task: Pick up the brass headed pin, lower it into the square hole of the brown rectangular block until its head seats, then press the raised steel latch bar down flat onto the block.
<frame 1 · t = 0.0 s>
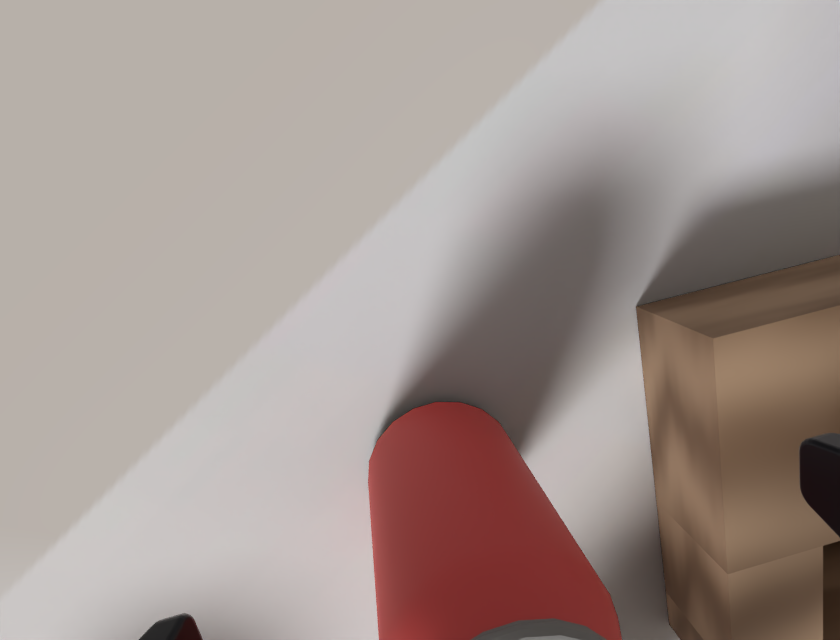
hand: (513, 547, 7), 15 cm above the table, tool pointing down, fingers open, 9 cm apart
beer can: (439, 460, 24), on the table
brown rectangular block: (785, 443, 26), on the table
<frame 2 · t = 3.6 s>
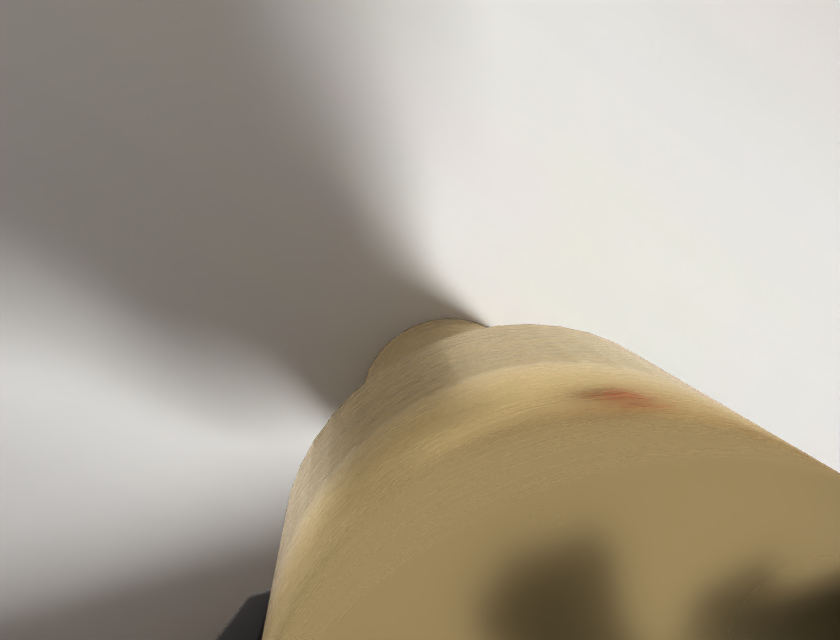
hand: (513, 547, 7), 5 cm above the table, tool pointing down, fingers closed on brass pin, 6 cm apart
brass pin: (446, 399, 12), on the table, touching gripper
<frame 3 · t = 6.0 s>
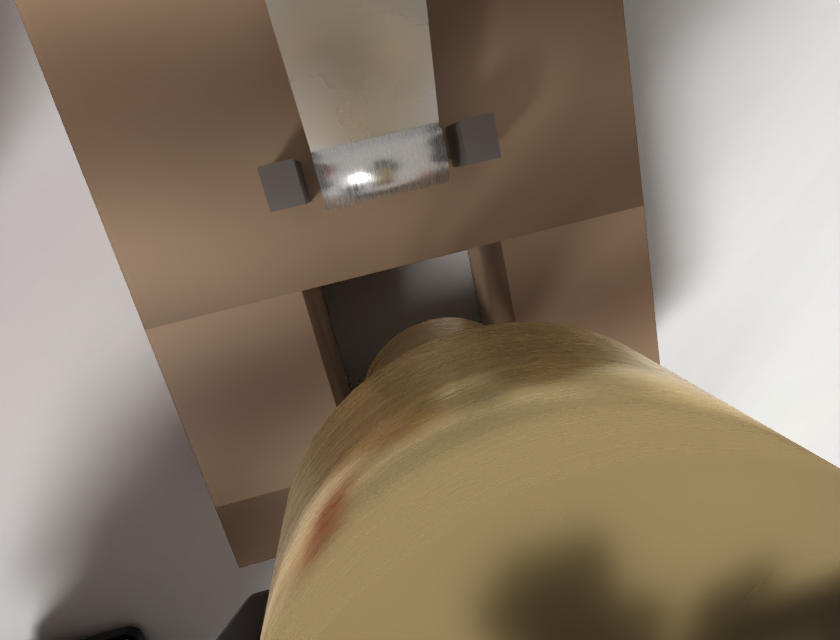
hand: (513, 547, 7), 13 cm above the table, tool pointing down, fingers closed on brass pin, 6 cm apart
latch bar: (349, 13, 10), point 8 cm above the table, hinge at 30.0°
brass pin: (445, 398, 12), point 8 cm above the table, touching gripper
brown rectangular block: (381, 212, 19), on the table
when the fingers open (6 cm above the table, at t = 8.8 s): brass pin stays where it is, resting on brown rectangular block.
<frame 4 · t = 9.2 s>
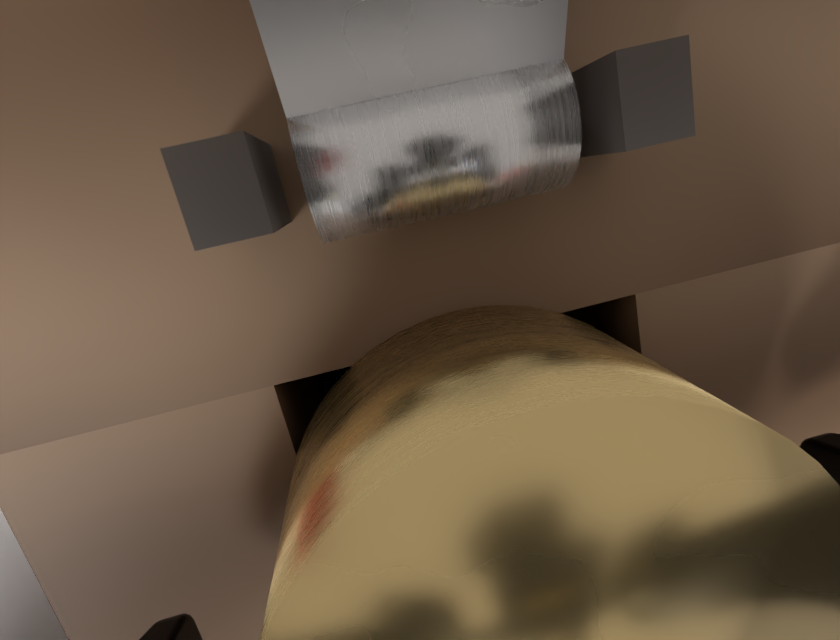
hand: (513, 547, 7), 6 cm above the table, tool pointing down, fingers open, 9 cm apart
brass pin: (439, 383, 13), resting on brown rectangular block
brown rectangular block: (405, 231, 12), on the table
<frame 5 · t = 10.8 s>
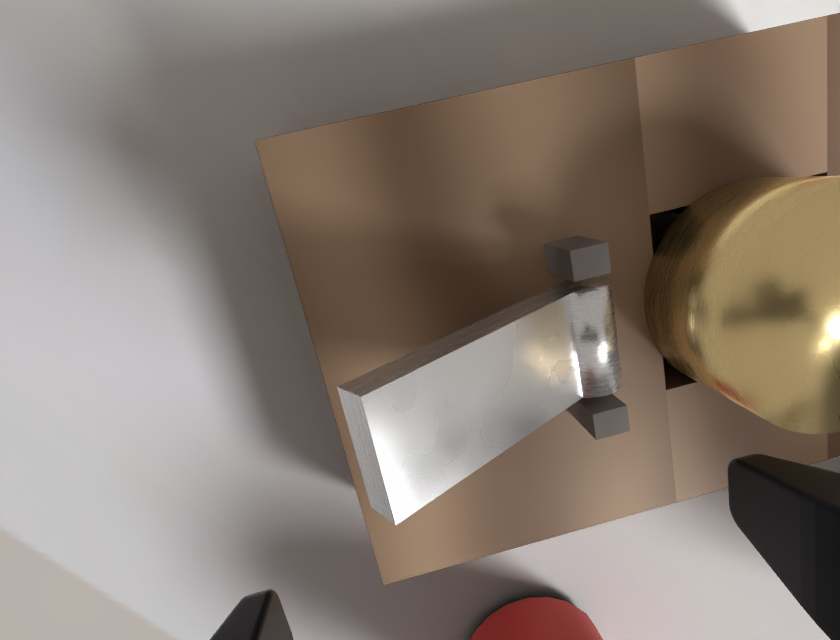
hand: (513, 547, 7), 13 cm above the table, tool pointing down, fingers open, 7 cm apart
latch bar: (508, 382, 13), point 8 cm above the table, hinge at 30.0°
brass pin: (651, 263, 21), resting on brown rectangular block
brown rectangular block: (556, 285, 20), on the table
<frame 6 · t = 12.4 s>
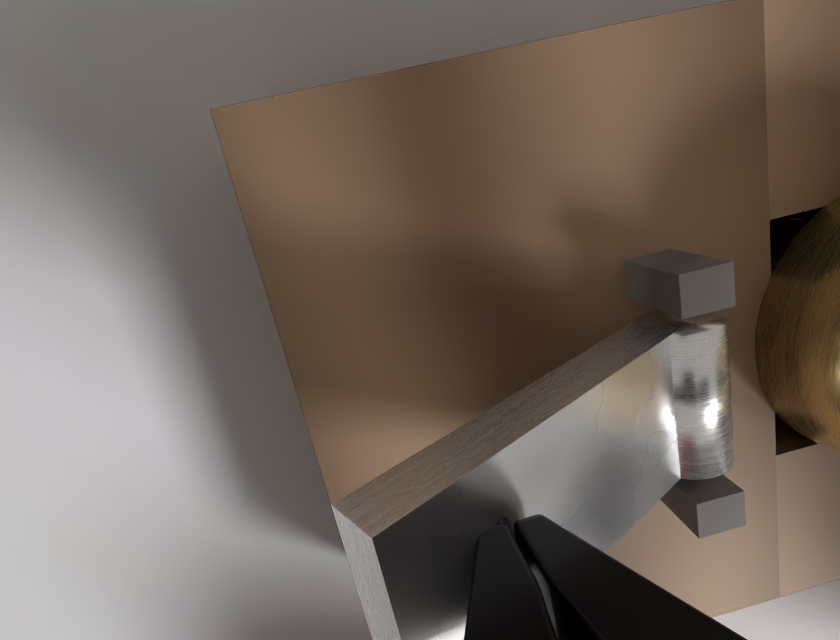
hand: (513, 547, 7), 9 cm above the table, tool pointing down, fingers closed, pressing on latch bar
latch bar: (587, 471, 9), point 8 cm above the table, hinge at 30.0°, touching gripper
brass pin: (728, 278, 16), resting on brown rectangular block
brown rectangular block: (611, 307, 16), on the table
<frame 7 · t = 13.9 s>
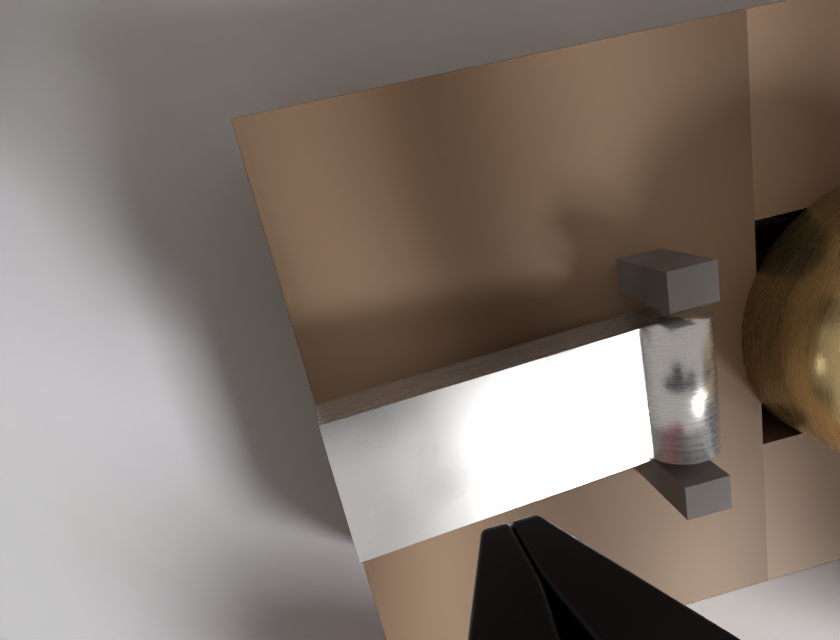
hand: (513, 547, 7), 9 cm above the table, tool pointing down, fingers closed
latch bar: (534, 427, 10), point 6 cm above the table, hinge at 5.9°
brass pin: (721, 276, 17), resting on brown rectangular block
brown rectangular block: (607, 304, 17), on the table
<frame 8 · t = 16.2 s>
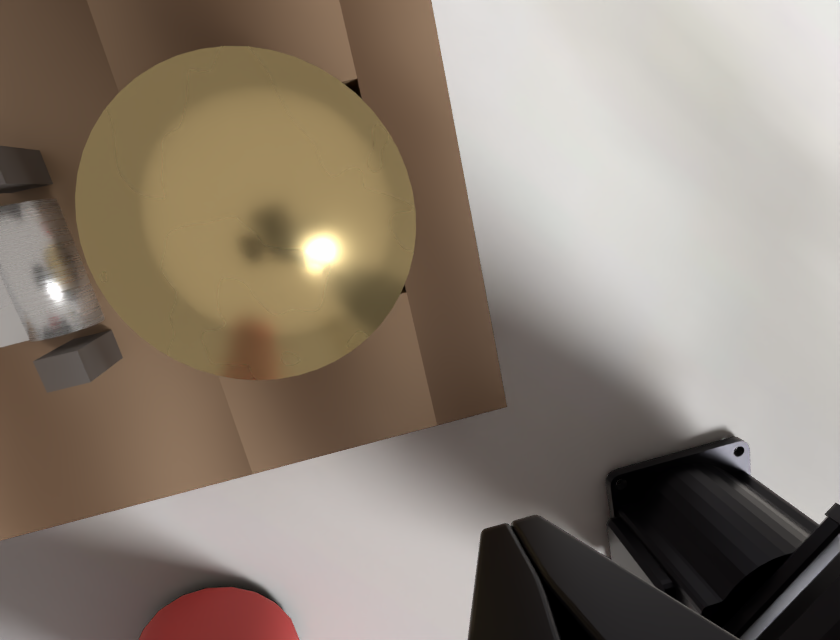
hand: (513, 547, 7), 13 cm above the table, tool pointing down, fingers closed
beer can: (224, 637, 22), on the table
brass pin: (296, 208, 18), resting on brown rectangular block
brown rectangular block: (183, 233, 18), on the table
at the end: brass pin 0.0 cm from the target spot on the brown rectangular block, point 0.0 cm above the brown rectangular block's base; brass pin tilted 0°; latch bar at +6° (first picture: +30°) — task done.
